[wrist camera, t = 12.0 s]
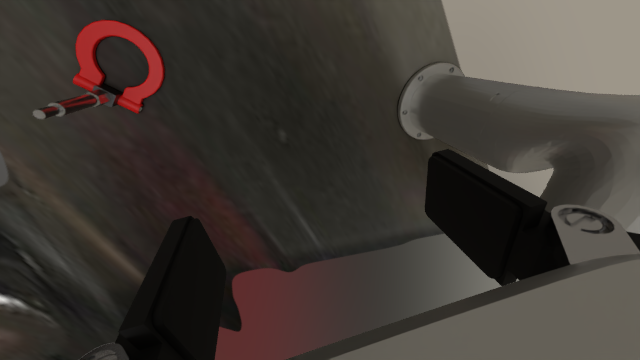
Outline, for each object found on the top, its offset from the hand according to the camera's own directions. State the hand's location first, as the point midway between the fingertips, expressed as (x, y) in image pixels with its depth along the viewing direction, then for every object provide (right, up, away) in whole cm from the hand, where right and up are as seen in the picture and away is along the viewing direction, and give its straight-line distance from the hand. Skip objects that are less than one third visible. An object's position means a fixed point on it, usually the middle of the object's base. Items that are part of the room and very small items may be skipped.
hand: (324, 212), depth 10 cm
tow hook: (-24, +15, +20) cm, 35 cm away
